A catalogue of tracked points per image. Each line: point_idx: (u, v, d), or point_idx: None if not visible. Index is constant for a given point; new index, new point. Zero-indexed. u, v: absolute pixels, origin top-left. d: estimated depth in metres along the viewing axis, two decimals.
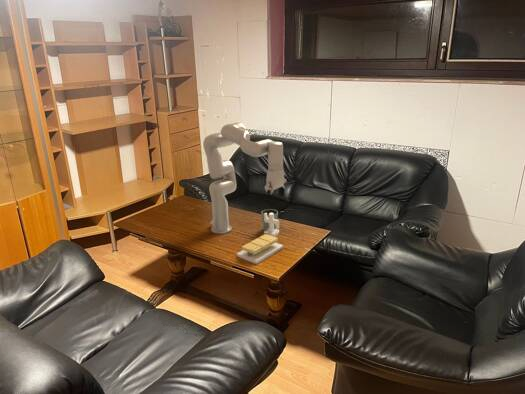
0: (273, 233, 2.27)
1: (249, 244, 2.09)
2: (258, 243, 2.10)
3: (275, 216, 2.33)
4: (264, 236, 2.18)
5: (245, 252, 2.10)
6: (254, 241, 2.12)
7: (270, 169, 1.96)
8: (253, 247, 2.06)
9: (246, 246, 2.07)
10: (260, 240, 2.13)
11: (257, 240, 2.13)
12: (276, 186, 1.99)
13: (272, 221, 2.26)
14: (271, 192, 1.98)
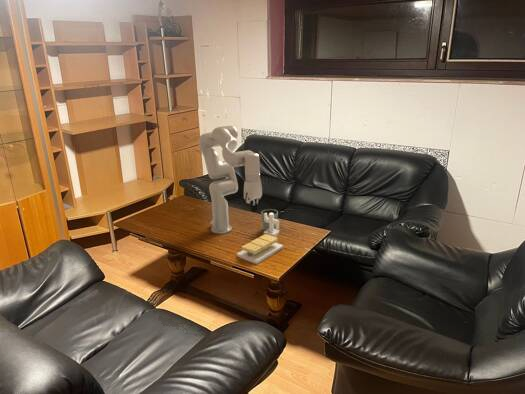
0: (273, 233, 2.27)
1: (249, 244, 2.09)
2: (258, 243, 2.10)
3: (275, 216, 2.33)
4: (264, 236, 2.18)
5: (245, 252, 2.10)
6: (254, 241, 2.12)
7: (247, 180, 1.97)
8: (253, 247, 2.06)
9: (246, 246, 2.07)
10: (260, 240, 2.13)
11: (257, 240, 2.13)
12: (253, 197, 1.99)
13: (272, 221, 2.26)
14: (254, 203, 2.02)
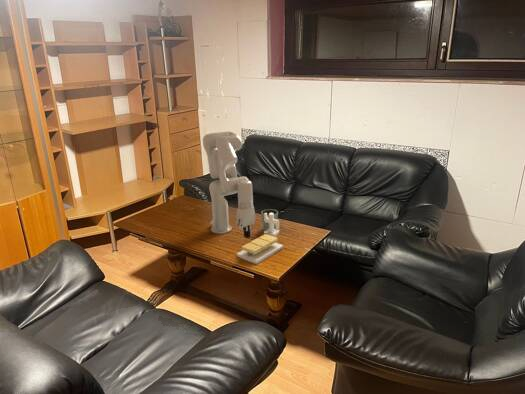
0: (273, 233, 2.27)
1: (249, 244, 2.09)
2: (258, 243, 2.10)
3: (275, 216, 2.33)
4: (264, 236, 2.18)
5: (245, 252, 2.10)
6: (254, 241, 2.12)
7: (240, 207, 1.98)
8: (253, 247, 2.06)
9: (246, 246, 2.07)
10: (260, 240, 2.13)
11: (257, 240, 2.13)
12: (246, 223, 2.00)
13: (272, 221, 2.26)
14: (246, 229, 2.03)
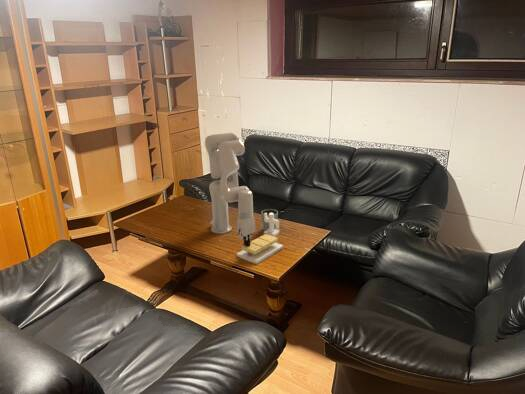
0: (273, 233, 2.27)
1: None
2: (258, 243, 2.10)
3: (275, 216, 2.33)
4: (264, 236, 2.18)
5: (245, 252, 2.10)
6: (254, 241, 2.12)
7: (240, 217, 2.00)
8: (253, 247, 2.06)
9: (246, 246, 2.07)
10: (260, 240, 2.13)
11: (257, 240, 2.13)
12: (246, 233, 2.02)
13: (272, 221, 2.26)
14: (247, 238, 2.05)
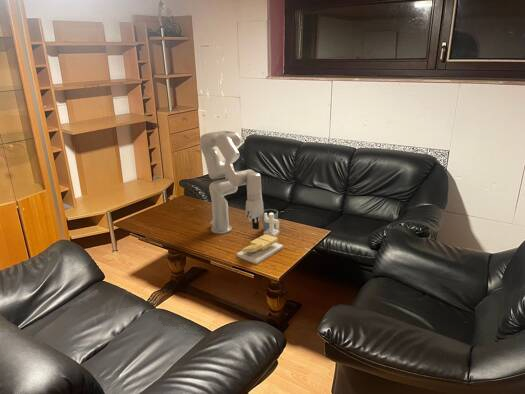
0: (273, 233, 2.27)
1: (249, 246, 2.10)
2: (258, 243, 2.10)
3: (275, 216, 2.33)
4: (264, 236, 2.18)
5: (245, 252, 2.10)
6: (254, 241, 2.12)
7: (249, 199, 2.03)
8: (252, 246, 2.06)
9: (245, 248, 2.08)
10: (260, 240, 2.13)
11: (257, 240, 2.13)
12: (255, 215, 2.05)
13: (272, 221, 2.26)
14: (255, 221, 2.07)
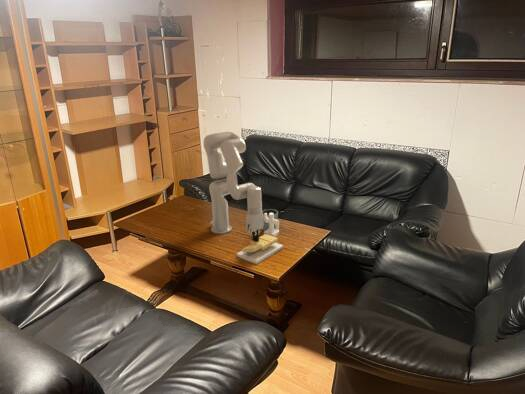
0: (273, 233, 2.27)
1: (249, 246, 2.10)
2: (258, 243, 2.10)
3: (275, 216, 2.33)
4: (264, 236, 2.18)
5: (245, 252, 2.10)
6: (254, 241, 2.12)
7: (249, 212, 2.05)
8: (252, 246, 2.06)
9: (245, 248, 2.08)
10: (260, 240, 2.13)
11: None
12: (255, 228, 2.07)
13: (272, 221, 2.26)
14: (255, 233, 2.10)
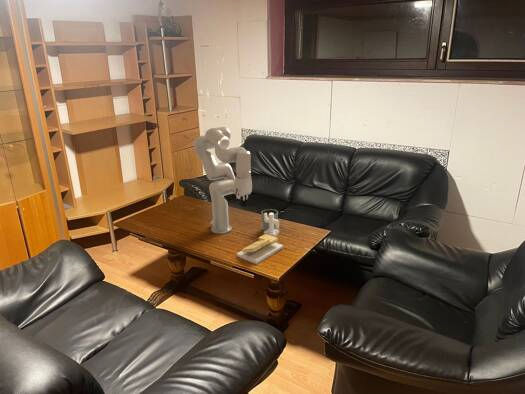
0: (273, 233, 2.27)
1: (249, 246, 2.10)
2: (258, 243, 2.10)
3: (275, 216, 2.33)
4: (264, 236, 2.18)
5: (245, 252, 2.10)
6: (254, 243, 2.13)
7: (238, 177, 2.03)
8: (252, 246, 2.06)
9: (245, 248, 2.08)
10: (260, 241, 2.14)
11: (257, 242, 2.14)
12: (243, 193, 2.06)
13: (272, 221, 2.26)
14: (243, 198, 2.09)
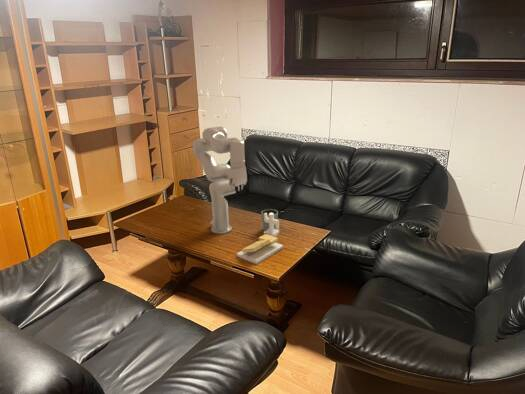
0: (273, 233, 2.27)
1: (249, 246, 2.10)
2: (257, 243, 2.10)
3: (275, 216, 2.33)
4: (264, 236, 2.18)
5: (245, 252, 2.10)
6: (254, 243, 2.13)
7: (232, 166, 2.03)
8: (252, 246, 2.06)
9: (245, 248, 2.08)
10: (260, 241, 2.14)
11: (257, 242, 2.14)
12: (238, 183, 2.06)
13: (272, 221, 2.26)
14: (238, 189, 2.09)
